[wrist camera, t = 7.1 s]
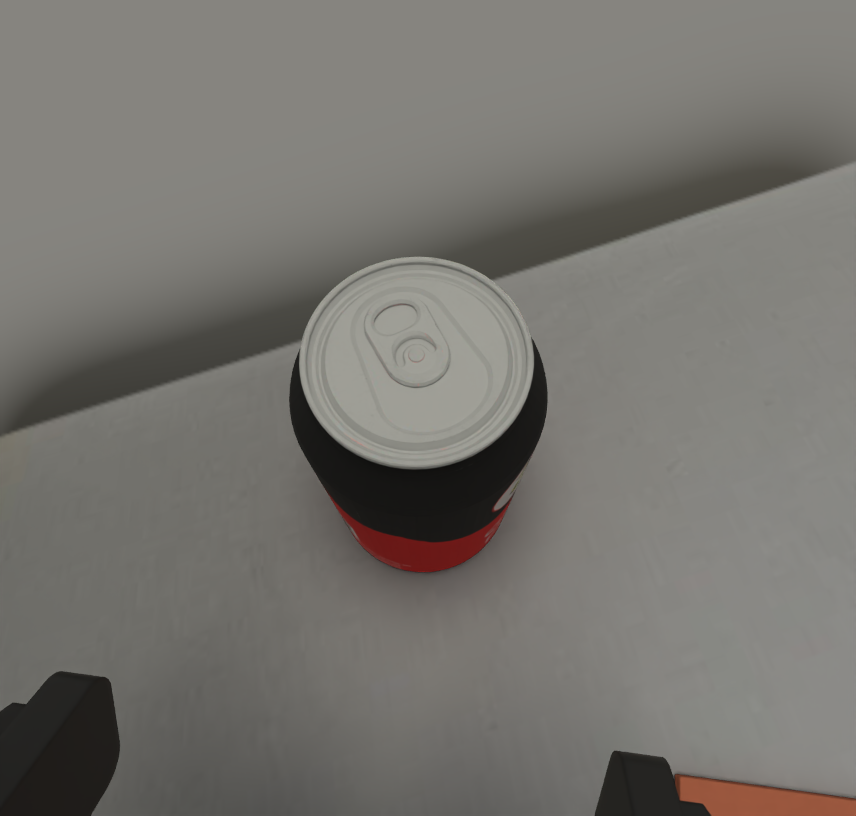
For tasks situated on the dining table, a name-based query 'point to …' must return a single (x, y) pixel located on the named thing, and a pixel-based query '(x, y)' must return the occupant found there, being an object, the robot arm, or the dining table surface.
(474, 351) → the beverage can
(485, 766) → the dining table surface
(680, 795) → the terracotta pad
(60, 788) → the robot arm
